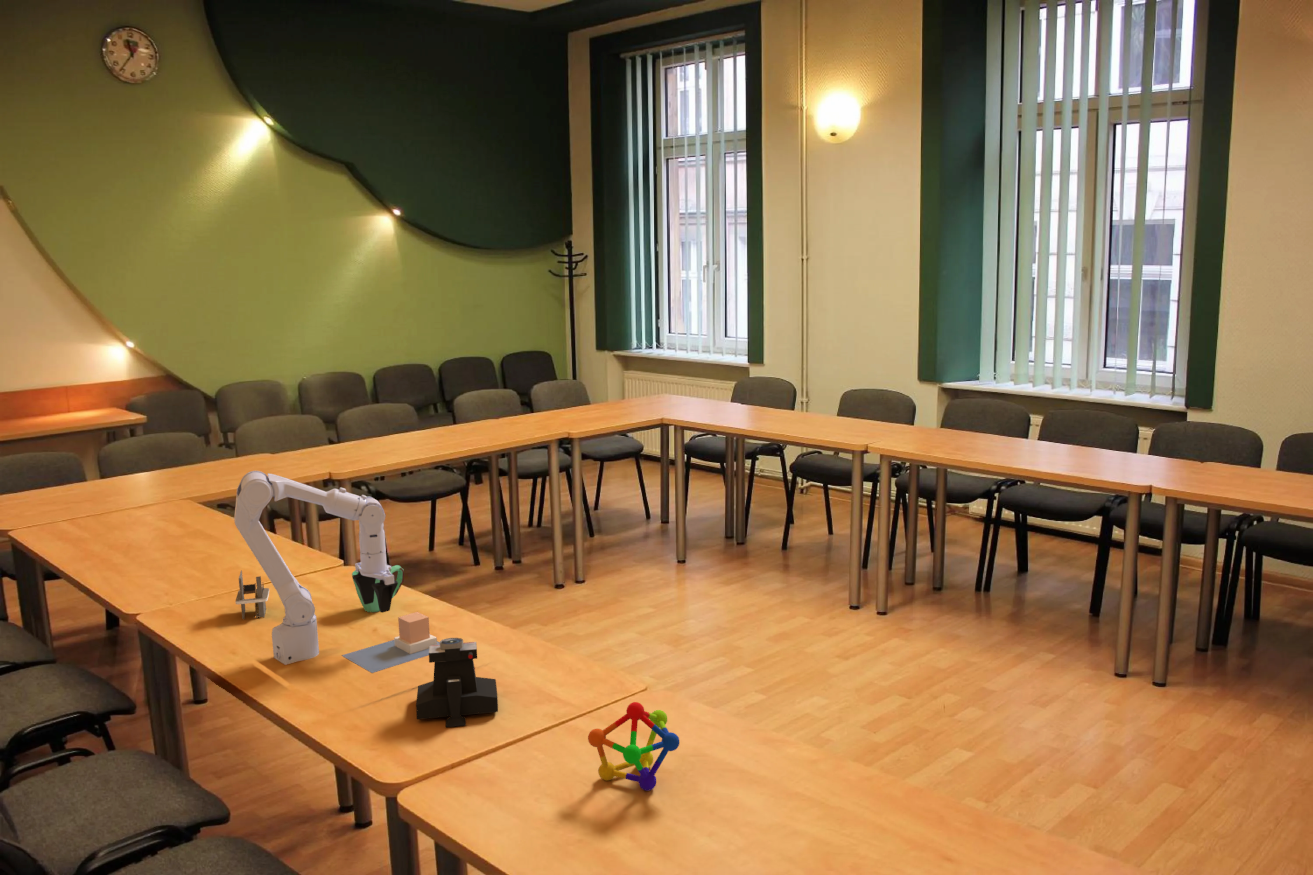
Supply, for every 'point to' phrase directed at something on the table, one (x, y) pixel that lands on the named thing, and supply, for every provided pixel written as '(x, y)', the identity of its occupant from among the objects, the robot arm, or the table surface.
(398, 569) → the mug
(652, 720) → the educational toy
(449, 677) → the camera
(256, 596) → the architectural model
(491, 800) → the table surface
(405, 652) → the board
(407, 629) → the terracotta block
